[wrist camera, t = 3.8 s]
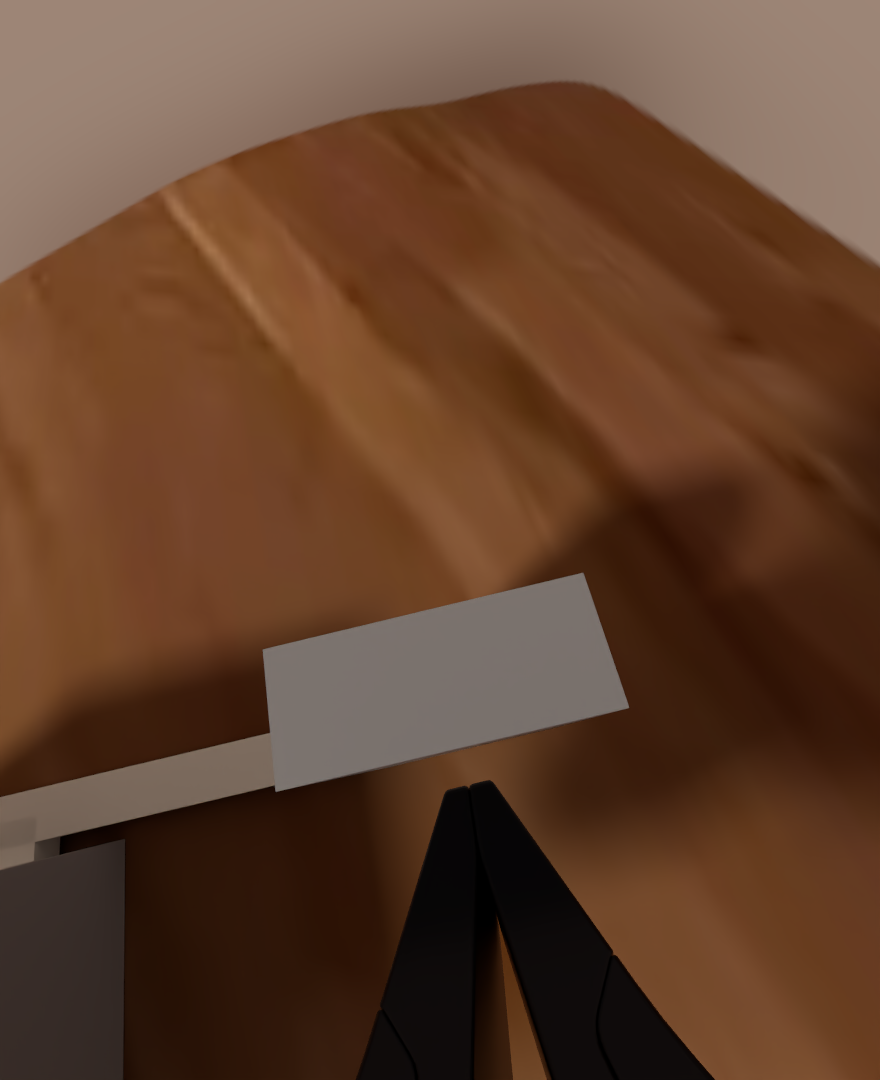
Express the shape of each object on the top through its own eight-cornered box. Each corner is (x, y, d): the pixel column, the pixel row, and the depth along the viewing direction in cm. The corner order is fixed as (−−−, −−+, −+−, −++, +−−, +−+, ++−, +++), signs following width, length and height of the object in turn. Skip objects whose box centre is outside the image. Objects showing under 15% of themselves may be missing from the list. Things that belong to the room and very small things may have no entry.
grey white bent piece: (634, 1014, 14) (925, 1574, 4) (-174, 1202, 14) (-1500, 2113, 5) (534, 664, 17) (583, 572, 8) (-112, 819, 17) (-804, 905, 8)
